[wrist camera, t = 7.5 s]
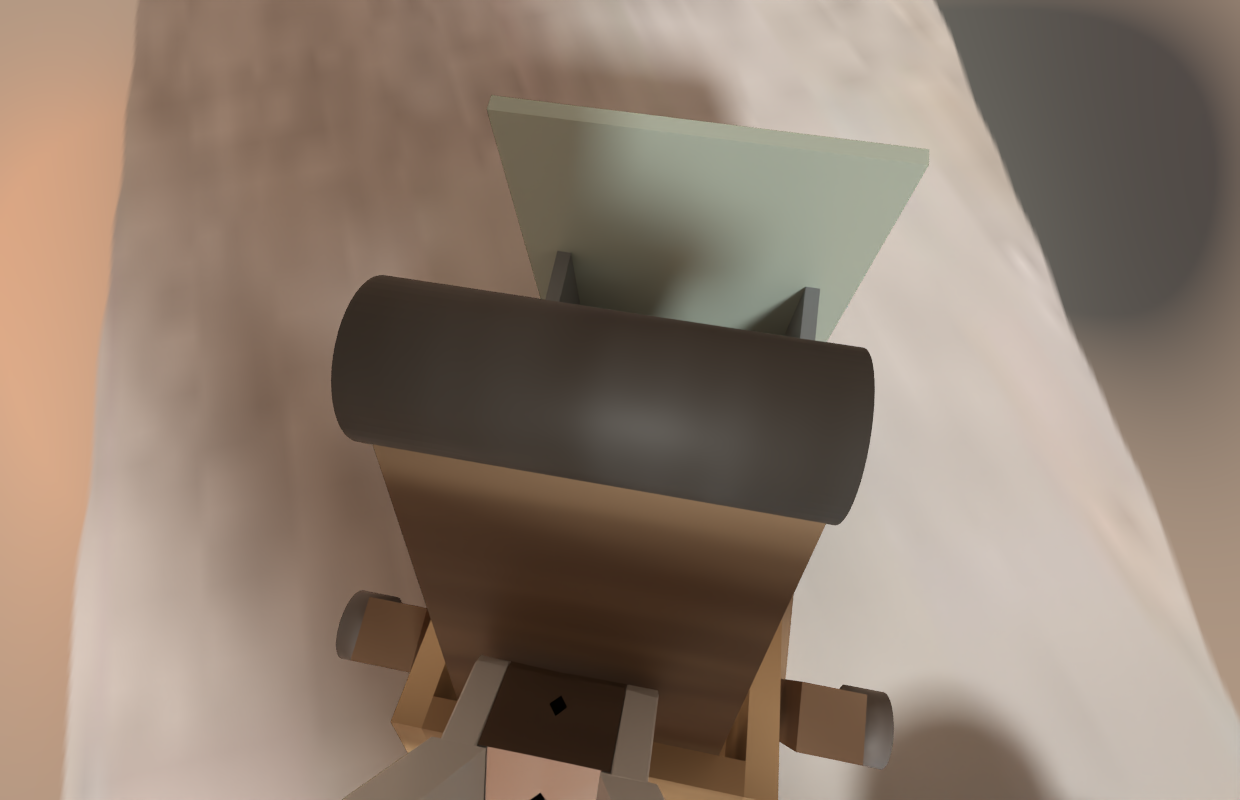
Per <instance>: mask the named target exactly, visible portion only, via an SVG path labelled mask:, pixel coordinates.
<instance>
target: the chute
mask: <svg viewBox="0 0 1240 800" xmlns="http://www.w3.org/2000/svg"><path fill="white" fill-rule="evenodd" d="M331 388H332V400H333V406H334V411H335V414H336V418H337V421H338V423H339V425H340V427H341V429H342V430H343V432H344V433H345V434H346V435H347V436H348V437H349V438H350V439H352V440H353V441H357V442H362V443H368V444H373V447H374V450H375V453H376V456H377V459H378V462H379V465H380V468H381V471H382V474H383V477H384V480H385V483H386V486H387V489H388V492H389V495H390V498H391V501H392V504H393V507H394V510H395V513H396V516H397V519H398V522H399V525H400V528H401V531H402V534H403V537H404V540H405V543H406V546H407V549H408V552H409V555H410V558H411V561H412V564H413V567H414V570H415V573H416V576H417V579H418V582H419V585H420V588H421V591H422V594H423V597H424V600H425V603H426V606H427V609H428V612H429V615H430V618H431V621H430V624H429V626H428V629H427V631H426V634H425V636H424V639H423V641H422V644H421V646H420V649H419V651H418V654H417V656H416V659H415V662H414V664H413V667H412V669H411V672H410V674H409V677H408V679H407V682H406V684H405V687H404V689H403V692H402V694H401V697H400V699H399V702H398V705H397V707H396V710H395V712H394V715H393V717H392V720H391V723H392V725H393V727H394V729H395V731H396V732H397V734H398V736H399V738H400V740H401V741H402V743H403V745H404V747H405V749H406V750H407V752H408V753H409V752H410V751H412V750H413V749H415V748H416V747H418V746H419V745H420V744H422V743H423V742H425V741H426V740H428V739H429V738H430V737H437V738H441V737H442V734H443V732H444V730H445V728H446V726H447V723H448V721H449V719H450V717H451V715H452V712H453V710H454V708H455V706H456V703H457V701H458V699H459V697H460V695H461V692H462V690H463V688H464V686H465V684H466V681H467V679H468V677H469V675H470V673H471V670H472V668H473V666H474V664H475V662H476V661H477V660H478V658H479V657H480V656H481V655H484V656H488V657H493V658H497V659H502V660H506V661H513V662H517V663H522V664H526V665H531V666H535V667H539V668H544V669H548V670H553V671H557V672H561V673H566V674H567V673H569V674H575V675H580V676H585V677H591V678H596V679H601V680H607V681H612V682H618V683H623V684H627V685H632V686H637V687H643V688H648V689H653V690H657V691H658V695H659V697H658V705H657V713H656V721H655V730H654V738H653V746H652V754H651V762H650V770H649V778H648V782H650V783H654V784H657V785H658V787H659V789H660V791H661V793H662V795H663V797H664V799H665V800H778V772H779V729H780V685H781V641H782V618H783V616H784V613H785V611H786V609H787V607H788V605H789V603H790V600H791V598H792V596H793V594H794V592H795V590H796V587H797V585H798V583H799V581H800V579H801V577H802V574H803V572H804V570H805V568H806V566H807V564H808V561H809V559H810V557H811V555H812V553H813V551H814V548H815V546H816V544H817V542H818V540H819V538H820V535H821V533H822V531H823V529H824V527H825V525H826V524H830V525H838V524H840V523H841V522H842V521H843V520H844V519H845V517H846V516H847V514H848V512H849V510H850V509H851V506H852V504H853V502H854V500H855V497H856V494H857V491H858V488H859V485H860V482H861V479H862V475H863V471H864V467H865V463H866V459H867V454H868V449H869V443H870V437H871V430H872V422H873V412H874V394H875V387H874V370H873V363H872V359H871V356H870V354H869V352H868V351H867V349H865V348H861V347H855V346H848V345H842V344H835V343H828V342H822V341H815V340H809V339H802V338H795V337H789V336H782V335H775V334H769V333H762V332H756V331H749V330H742V329H736V328H729V327H722V326H716V325H709V324H703V323H696V322H689V321H683V320H676V319H670V318H663V317H656V316H650V315H643V314H636V313H630V312H623V311H617V310H610V309H603V308H597V307H590V306H584V305H577V304H570V303H564V302H557V301H550V300H544V299H537V298H531V297H524V296H517V295H511V294H504V293H497V292H491V291H484V290H478V289H471V288H464V287H458V286H451V285H445V284H438V283H431V282H425V281H418V280H411V279H405V278H398V277H392V276H385V275H379V276H375V277H373V278H371V279H369V280H368V281H366V282H365V283H364V284H363V285H362V286H361V287H360V288H359V290H358V291H357V292H356V294H355V295H354V297H353V298H352V300H351V302H350V304H349V305H348V307H347V309H346V312H345V314H344V317H343V319H342V322H341V325H340V328H339V331H338V335H337V339H336V343H335V348H334V354H333V361H332V374H331ZM627 685H626V688H627ZM625 694H626V692H625ZM624 700H625V699H624Z"/></svg>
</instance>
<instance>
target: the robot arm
mask: <svg viewBox="0 0 1240 800" xmlns="http://www.w3.org/2000/svg"><path fill="white" fill-rule="evenodd" d="M626 685H627V684H623V683H618V682H612V681H607V680H601V679H596V678H591V677H585V676H580V675H575V674H569V673H567V674H566V673H561V672H557V671H553V670H548V669H544V668H539V667H535V666H531V665H526V664H522V663H517V662H513V661H506V660H502V659H497V658H493V657H488V656H484V655H481V656H480V657H479V658H478V660H477V661H476V662H475V664H474V666H473V668H472V670H471V673H470V675H469V677H468V679H467V681H466V684H465V686H464V688H463V690H462V692H461V695H460V697H459V699H458V701H457V703H456V706H455V708H454V710H453V712H452V715H451V717H450V719H449V721H448V723H447V726H446V728H445V730H444V732H443V734H442V737H441V738H437V737H430V738H429V739H428V740H426V741H425V742H423V743H422V744H420V745H419V746H418V747H416V748H415V749H413V750H412V751H410V752H409V753H408V754H406V755H405V756H403V757H402V758H400V759H399V760H398V761H396V762H395V763H393V764H392V765H390V766H389V767H388V768H386V769H385V770H383V771H382V772H380V773H379V774H378V775H376V776H375V777H373V778H372V779H370V780H369V781H368V782H366V783H365V784H363V785H362V786H361V787H359V788H358V789H356V790H355V791H353V792H352V793H351V794H349V795H348V796H346V797H345V798H343V799H342V800H665V799H664V797H663V795H662V793H661V791H660V789H659V787H658V785H657V784H654V783H650V782H648V778H649V770H650V762H651V754H652V746H653V738H654V730H655V721H656V713H657V705H658V697H659V695H658V691H657V690H653V689H648V688H643V687H637V686H632V685H627V688H626ZM625 692H626V694H625ZM624 699H625V700H624Z"/></svg>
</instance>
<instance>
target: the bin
mask: <svg viewBox="0 0 1240 800" xmlns="http://www.w3.org/2000/svg"><path fill="white" fill-rule="evenodd" d="M487 112H488V116H489V119H490V123H491V126H492V130H493V133H494V137H495V140H496V144H497V147H498V151H499V154H500V158H501V161H502V165H503V168H504V172H505V175H506V179H507V182H508V186H509V189H510V193H511V196H512V200H513V203H514V207H515V210H516V214H517V217H518V221H519V224H520V228H521V231H522V235H523V238H524V242H525V245H526V249H527V252H528V256H529V259H530V263H531V266H532V270H533V273H534V277H535V280H536V284H537V287H538V291H539V294H540V298H541V299H544V300H550V301H557V302H564V303H570V304H577V305H584V306H590V307H597V308H603V309H610V310H617V311H623V312H630V313H636V314H643V315H650V316H656V317H663V318H670V319H676V320H683V321H689V322H696V323H703V324H709V325H716V326H722V327H729V328H736V329H742V330H749V331H756V332H762V333H769V334H775V335H782V336H789V337H795V338H802V339H809V340H815V341H822V342H827V340H828V338H829V337H830V335H831V333H832V332H833V330H834V328H835V326H836V325H837V323H838V321H839V319H840V318H841V316H842V314H843V313H844V311H845V309H846V307H847V306H848V304H849V302H850V300H851V299H852V297H853V295H854V294H855V292H856V290H857V288H858V287H859V285H860V283H861V281H862V280H863V278H864V276H865V274H866V273H867V271H868V269H869V268H870V266H871V264H872V262H873V261H874V259H875V257H876V255H877V254H878V252H879V250H880V249H881V247H882V245H883V243H884V242H885V240H886V238H887V236H888V235H889V233H890V231H891V230H892V228H893V226H894V224H895V223H896V221H897V219H898V217H899V216H900V214H901V212H902V210H903V209H904V207H905V205H906V204H907V202H908V200H909V198H910V197H911V195H912V193H913V191H914V190H915V188H916V186H917V185H918V183H919V181H920V179H921V178H922V176H923V174H924V172H925V171H926V169H927V167H928V166H929V149H922V148H914V147H906V146H898V145H890V144H882V143H874V142H865V141H857V140H849V139H841V138H833V137H825V136H817V135H809V134H801V133H793V132H785V131H777V130H769V129H761V128H753V127H745V126H737V125H728V124H720V123H712V122H704V121H696V120H688V119H680V118H672V117H664V116H656V115H648V114H640V113H632V112H624V111H616V110H608V109H600V108H591V107H583V106H575V105H567V104H559V103H551V102H543V101H535V100H527V99H519V98H511V97H503V96H495V95H491V98H490V101H489V104H488V107H487Z"/></svg>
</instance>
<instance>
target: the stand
mask: <svg viewBox="0 0 1240 800" xmlns="http://www.w3.org/2000/svg"><path fill="white" fill-rule="evenodd" d="M792 604H793V596H792V598H791V600H790V603H789V605H788V607H787V609H786V611H785V613H784V616H783V618H782V641H781V685H780V729H779V742H781V743H782V744H784V745H786V746H787V747H789V748H791V749H792V750H794V751H796V752H799V753H804V754H809V755H814V756H819V757H824V758H829V759H833V760H838V761H843V762H848V763H852V764H857V765H862V766H867V767H872V768H877V769H884V768H885V767H886V765H887V763H888V761H889V758H890V755H891V750H892V745H893V734H894V722H893V712H892V706H891V702H890V700H889V697H888V696H887V694H886V693H884V692H879V691H874V690H869V689H863V688H858V687H853V686H848V685H842V686H841V687H840V689H836V688H831V687H826V686H821V685H815V684H810V683H805V682H799V681H793V680H786V679H785V677H786V666H787V656H788V646H789V635H790V625H791V615H792ZM430 621H431V618H430V615H429V612H428V609H427V608H423V607H418V606H413V605H408V604H403V603H402V602H401V600H400V598H398V597H393V596H388V595H383V594H378V593H373V592H368V591H359V592H357V593H356V594H355V595H354V596H353V597H352V598H351V600H350V601H349V603H348V605H347V606H346V608H345V611H344V613H343V615H342V618H341V621H340V624H339V628H338V632H337V639H336V650H337V654H338V656H339V657H340V658H342V659H347V660H352V661H357V662H362V663H366V664H371V665H376V666H381V667H386V668H391V669H396V670H401V671H406V672H411V669H412V667H413V664H414V662H415V659H416V656H417V654H418V651H419V649H420V646H421V644H422V641H423V639H424V636H425V634H426V631H427V629H428V626H429V624H430Z"/></svg>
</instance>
